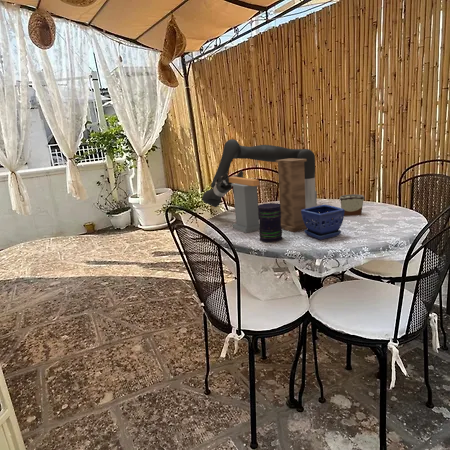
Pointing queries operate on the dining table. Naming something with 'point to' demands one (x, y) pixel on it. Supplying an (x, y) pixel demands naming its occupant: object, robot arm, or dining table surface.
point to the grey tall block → (246, 208)
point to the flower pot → (323, 221)
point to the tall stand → (292, 193)
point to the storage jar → (270, 222)
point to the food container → (352, 204)
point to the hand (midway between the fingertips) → (234, 173)
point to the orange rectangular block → (244, 181)
